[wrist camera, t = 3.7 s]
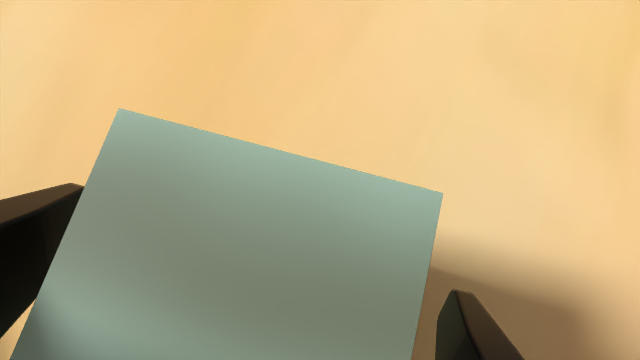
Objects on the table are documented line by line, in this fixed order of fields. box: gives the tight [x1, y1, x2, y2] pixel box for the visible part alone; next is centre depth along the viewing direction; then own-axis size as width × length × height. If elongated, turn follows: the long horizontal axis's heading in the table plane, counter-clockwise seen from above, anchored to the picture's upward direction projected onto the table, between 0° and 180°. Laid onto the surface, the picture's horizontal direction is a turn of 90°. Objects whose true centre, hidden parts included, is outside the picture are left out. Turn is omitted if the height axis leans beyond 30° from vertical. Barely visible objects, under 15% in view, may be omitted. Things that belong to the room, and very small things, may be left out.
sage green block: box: [10, 108, 443, 360], centre depth 11 cm, size 6×6×9 cm
